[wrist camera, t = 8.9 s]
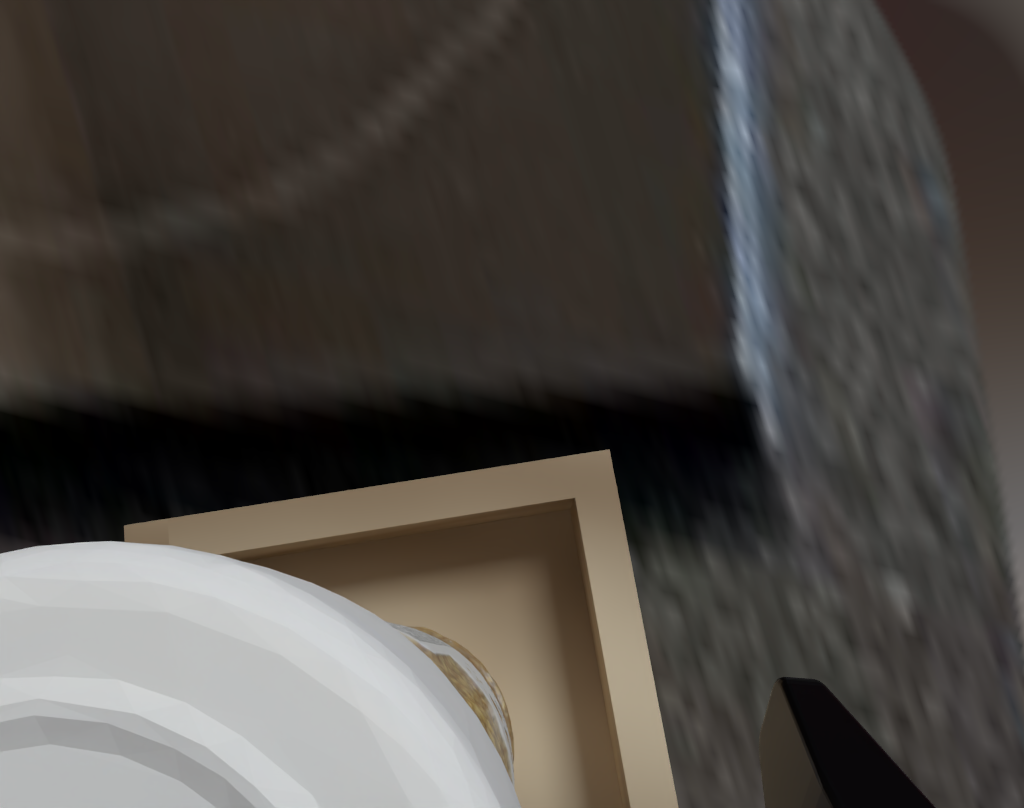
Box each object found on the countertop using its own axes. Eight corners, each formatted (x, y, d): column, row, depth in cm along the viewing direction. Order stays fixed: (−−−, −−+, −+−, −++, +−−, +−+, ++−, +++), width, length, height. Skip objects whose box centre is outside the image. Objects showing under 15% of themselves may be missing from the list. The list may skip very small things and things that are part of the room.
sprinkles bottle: (500, 894, 16) (496, 2061, 3) (251, 862, 16) (-902, 1848, 3) (527, 634, 17) (614, 587, 4) (296, 606, 17) (-356, 472, 4)
